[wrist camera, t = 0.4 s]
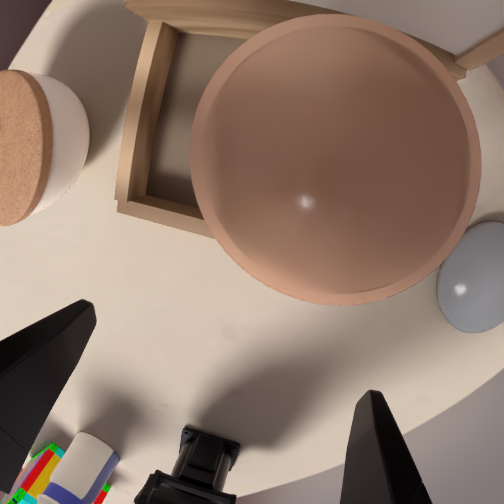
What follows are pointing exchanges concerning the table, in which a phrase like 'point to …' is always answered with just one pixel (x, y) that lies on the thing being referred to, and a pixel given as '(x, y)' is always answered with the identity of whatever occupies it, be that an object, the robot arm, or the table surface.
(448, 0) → the lid
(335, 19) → the tan cylindrical canister
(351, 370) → the table surface
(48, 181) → the lidded jar
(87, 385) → the table surface
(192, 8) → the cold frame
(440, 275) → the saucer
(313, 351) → the table surface
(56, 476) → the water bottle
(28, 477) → the toy house
